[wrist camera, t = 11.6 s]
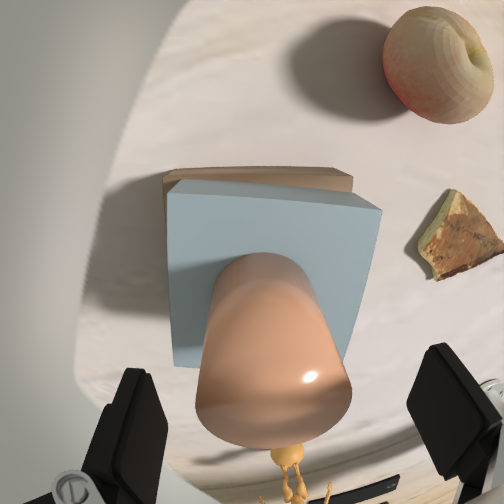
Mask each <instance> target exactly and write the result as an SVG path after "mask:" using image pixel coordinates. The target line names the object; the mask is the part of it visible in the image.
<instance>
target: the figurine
mask: <svg viewBox="0 0 504 504" xmlns="http://www.w3.org/2000/svg"><path fill="white" fill-rule="evenodd" d="M303 456H304V447H303V445H302V443H301V444H297V445H293V446H289V447H283V448H274V449H271V458H272V460H273V461H274V462H275V463H276V464H277V465H279V466H280V467H281V468H282V470H283V474H284V477H285V479H284V480H283V485H282V489H283V493H284V496H285V502H286V503H289V502H290V501H291V504H304V502H303V498H304V499H308V494H307V492H306V486H305V484H304V482H303V481H302V480H303V478H302V476H300V471H299V466H298V465H299V463H300V462H301V460H302V459H303ZM288 467H294V469H295V472H296V475H297V481H299V483H298V487H297V493H298V494H294V495H293V491H292V489H291V488H289V487H288V486H287V484H288V483H289V480H288V472H287V468H288ZM329 483H330V482H329ZM329 483H328V486H329V488H328V487H327V489H328V490H329V491H328V492H327V494H326V497H325V501H324V504H328V501H329V498H330V494H331V490H332V485H331V483H330V485H329ZM259 500H260V502H261V504H264V503H263V502H264V500H263V501H262V498H261V496H259Z"/></svg>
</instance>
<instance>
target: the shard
mask: <svg viewBox="0 0 504 504" xmlns="http://www.w3.org/2000/svg"><path fill="white" fill-rule="evenodd" d="M418 252H419V254H420V255H421V256H422V257H423V258H424V259H425V260H427V261H428V262H429V264H430V265H431V269H432V274H433V277H434V279H435V281H436V282H438V281H440V280H444V279H446V278H449V277H452V276H454V275H456V274H457V273H461V272H464V271H467V270H469V269H471V268H474V267H476V266H478V265H480V264H482V263H485V262H486V261H488V260H490V259H492V258H493V257H495V256H497V255H499V254H503V253H504V243H503V241H502V240H501V239H500V238H498V236H497V234H496V233H495V232H494V230H493V228H492V226H491V225H490V224H489V222H488V221H487V220H486V218H485V217H484V215H483V214H482V213H481V212H479V210H478V208H477V207H475V205H474V204H473V203H472V202H471V201H469V200H467V199H466V197H465V196H464V195H463V194H462V193H461V192H459V191H457V190H455V189H452V190H450V192H449V194H448V196H447V198H446V200H445V201H444V203H443V205H442V207H441V208H440V210H439V212H438V214H437V215H436V218H435V219H434V220H433V221H432V223H431V224H430V225H429V226H428V228H427V229H426V231H425V232H424V234H423V235H422V236H421V238H420V239H419V241H418Z"/></svg>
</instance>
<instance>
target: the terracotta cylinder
mask: <svg viewBox="0 0 504 504" xmlns="http://www.w3.org/2000/svg"><path fill="white" fill-rule="evenodd" d="M351 399H352V387H351V383H350V381H349V378H348V375H347V373H346V370H345V367H344V365H343V362H342V360H341V357H340V355H339V352H338V349H337V347H336V344H335V342H334V339H333V337H332V334H331V332H330V329H329V327H328V324H327V322H326V319H325V317H324V314H323V312H322V309H321V307H320V305H319V302H318V300H317V297H316V295H315V292H314V290H313V288H312V285H311V283H310V281H309V278H308V276H307V275H306V273H305V272H304V270H303V269H302V268H301V267H300V266H299V265H298V264H297V263H295V262H294V261H293V260H291V259H289V258H287V257H285V256H282V255H279V254H275V253H264V252H260V253H253V254H248V255H245V256H242V257H240V258H238V259H236V260H234V261H233V262H231V263H230V264H228V265H227V266H226V267H225V268H224V269H223V270H222V271H221V273H220V274H219V275H218V277H217V279H216V281H215V283H214V286H213V289H212V295H211V301H210V307H209V313H208V320H207V326H206V332H205V339H204V345H203V352H202V359H201V366H200V373H199V380H198V387H197V394H196V403H195V408H196V413H197V416H198V418H199V420H200V421H201V423H202V424H203V426H204V427H205V428H206V429H207V430H208V431H210V432H211V433H212V434H213V435H215V436H217V437H218V438H220V439H222V440H224V441H226V442H229V443H232V444H235V445H239V446H243V447H248V448H257V449H274V448H283V447H289V446H293V445H297V444H301V443H304V442H306V441H309V440H311V439H314V438H316V437H318V436H320V435H321V434H323V433H325V432H326V431H328V430H329V429H331V428H332V427H333V426H334V425H336V424H337V423H338V422H339V421H340V420H341V419H342V417H343V416H344V415H345V413H346V412H347V410H348V408H349V406H350V403H351Z"/></svg>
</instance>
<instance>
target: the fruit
mask: <svg viewBox="0 0 504 504" xmlns="http://www.w3.org/2000/svg"><path fill="white" fill-rule="evenodd" d="M382 57H383V69H384V73H385V76H386V79H387V81H388V83H389V85H390V87H391V88H392V90H393V91H394V93H395V94H396V95H397V97H398V98H399V99H400V100H401V102H402V103H403V104H404V105H406V106H407V107H408V108H409V109H410V110H411V111H413V112H414V113H416V114H417V115H419V116H420V117H423V118H425V119H427V120H429V121H432V122H435V123H442V124H456V123H462V122H465V121H467V120H469V119H471V118H473V117H474V116H476V115H477V114H479V113H480V112H481V111H482V110H483V109H484V108H485V107H486V106H487V104H488V102H489V100H490V98H491V95H492V93H493V88H494V77H493V70H492V66H491V63H490V60H489V57H488V55H487V53H486V50H485V49H484V47H483V45H482V44H481V41H480V38H479V36H478V34H477V32H476V31H475V29H474V28H473V27H472V26H471V24H470V23H469V22H468V21H466V20H465V19H464V18H463V17H461V16H459V15H458V14H456V13H454V12H452V11H449V10H446V9H444V8H439V7H430V6H425V7H419V8H416V9H412V10H409V11H407V12H406V13H405V14H404V15H403V16H401V17H400V18H399V20H398V21H397V22H396V23H395V24H394V25H393V27H392V28H391V30H390V32H389V34H388V36H387V38H386V40H385V43H384V47H383V53H382Z"/></svg>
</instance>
